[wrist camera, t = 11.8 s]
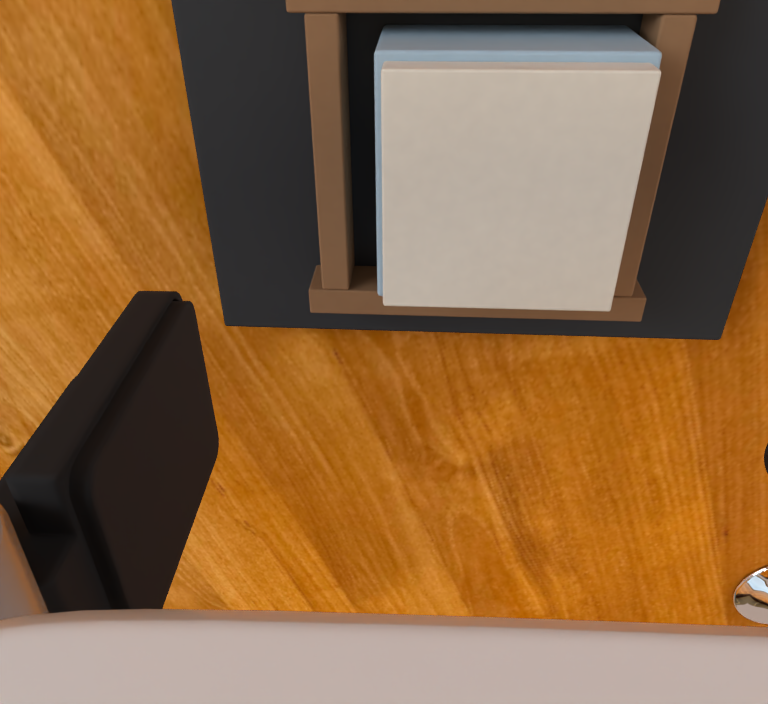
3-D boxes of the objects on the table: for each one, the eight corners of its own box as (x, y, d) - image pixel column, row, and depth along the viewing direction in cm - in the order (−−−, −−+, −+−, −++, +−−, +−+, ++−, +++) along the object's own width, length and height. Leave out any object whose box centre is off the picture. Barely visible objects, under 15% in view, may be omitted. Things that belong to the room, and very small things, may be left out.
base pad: (233, 308, 23) (211, 354, 21) (167, -115, 17) (125, -114, 14) (708, 320, 22) (739, 371, 20) (846, -120, 16) (917, -120, 13)
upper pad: (384, 243, 20) (374, 313, 17) (383, 24, 17) (370, 58, 14) (587, 247, 20) (617, 319, 17) (627, 24, 17) (675, 59, 13)
